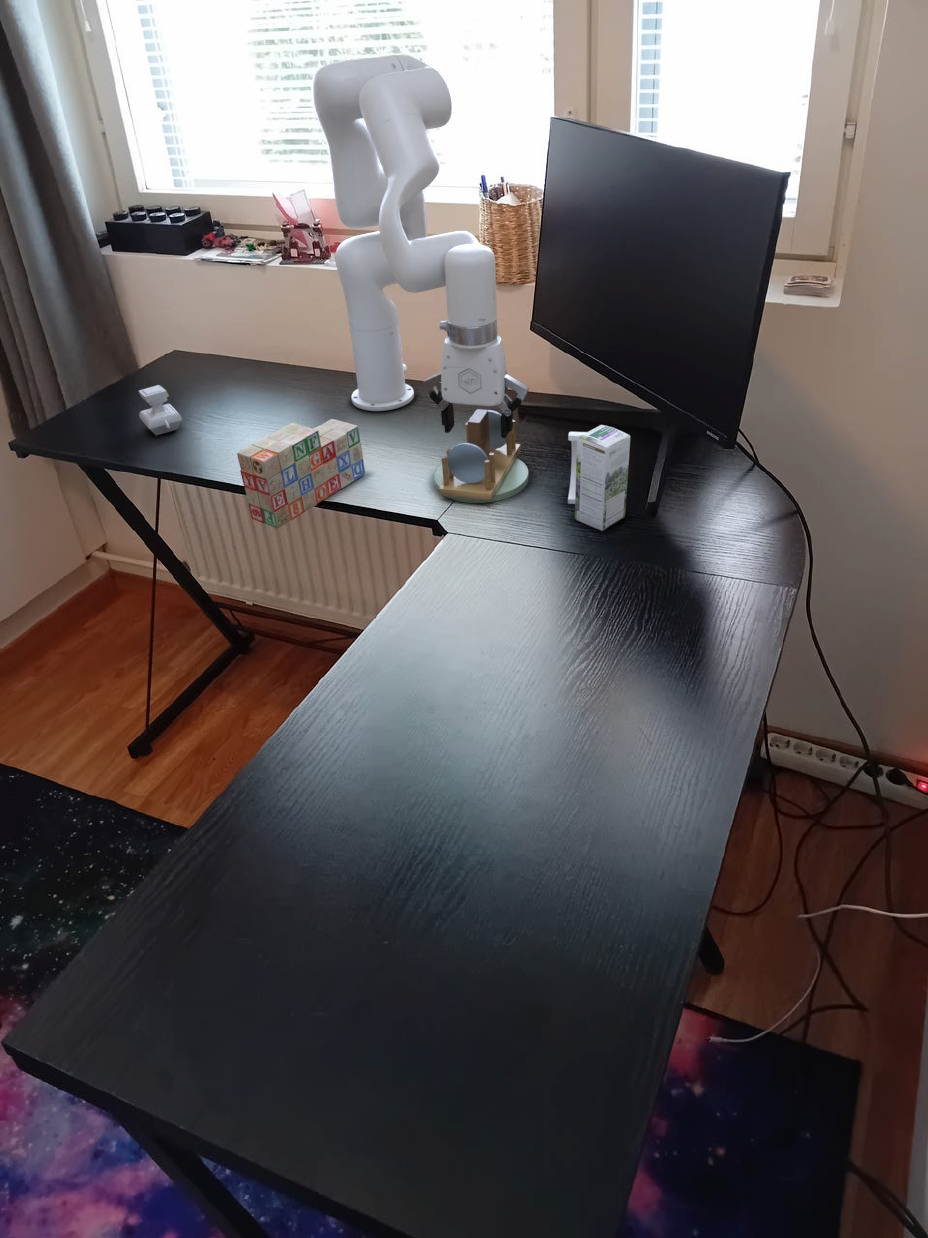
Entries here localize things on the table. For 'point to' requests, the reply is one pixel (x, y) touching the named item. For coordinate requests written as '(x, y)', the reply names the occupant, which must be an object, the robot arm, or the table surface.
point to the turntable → (509, 486)
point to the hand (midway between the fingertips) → (477, 431)
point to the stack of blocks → (299, 469)
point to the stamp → (159, 411)
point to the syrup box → (601, 476)
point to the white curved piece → (573, 465)
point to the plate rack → (479, 458)
